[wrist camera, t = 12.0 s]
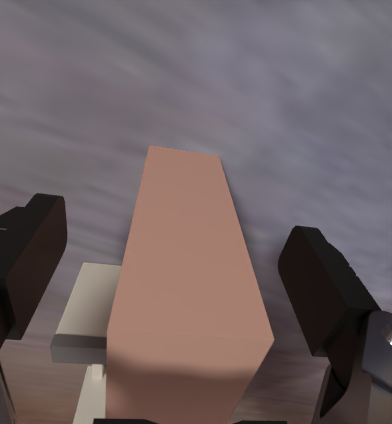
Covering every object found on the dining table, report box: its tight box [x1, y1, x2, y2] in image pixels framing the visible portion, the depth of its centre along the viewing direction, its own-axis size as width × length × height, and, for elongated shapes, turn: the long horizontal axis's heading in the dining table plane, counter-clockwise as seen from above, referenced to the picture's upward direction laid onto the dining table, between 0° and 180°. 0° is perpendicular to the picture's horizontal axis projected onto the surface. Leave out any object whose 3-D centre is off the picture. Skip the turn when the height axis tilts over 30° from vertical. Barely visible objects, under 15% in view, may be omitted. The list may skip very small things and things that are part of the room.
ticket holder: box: [50, 262, 122, 424], centre depth 20 cm, size 14×10×6 cm
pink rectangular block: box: [105, 145, 274, 424], centre depth 12 cm, size 8×4×10 cm, turn 170°
